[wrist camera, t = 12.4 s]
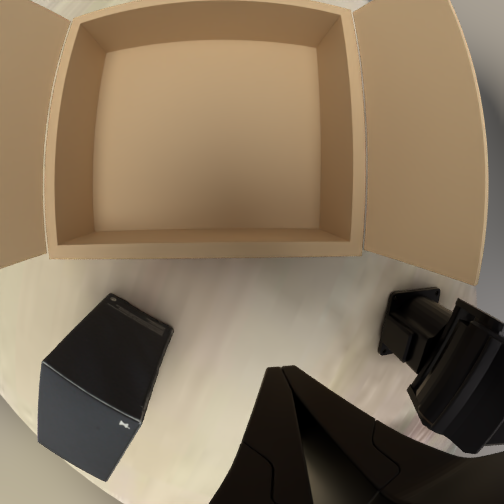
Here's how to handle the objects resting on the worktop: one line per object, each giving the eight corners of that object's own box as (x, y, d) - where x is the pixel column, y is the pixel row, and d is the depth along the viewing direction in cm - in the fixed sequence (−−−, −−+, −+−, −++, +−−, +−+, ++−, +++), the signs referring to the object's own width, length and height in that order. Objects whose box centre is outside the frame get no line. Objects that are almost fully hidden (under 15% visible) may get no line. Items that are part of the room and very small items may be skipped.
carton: (321, 46, 17) (350, 9, 11) (324, 237, 20) (361, 255, 14) (103, 51, 15) (73, 18, 9) (91, 240, 18) (49, 259, 13)
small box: (106, 287, 19) (36, 356, 9) (176, 327, 21) (149, 423, 11) (78, 371, 21) (33, 442, 11) (135, 403, 22) (109, 485, 12)
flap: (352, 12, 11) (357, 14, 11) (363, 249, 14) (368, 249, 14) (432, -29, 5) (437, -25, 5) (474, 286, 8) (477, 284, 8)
